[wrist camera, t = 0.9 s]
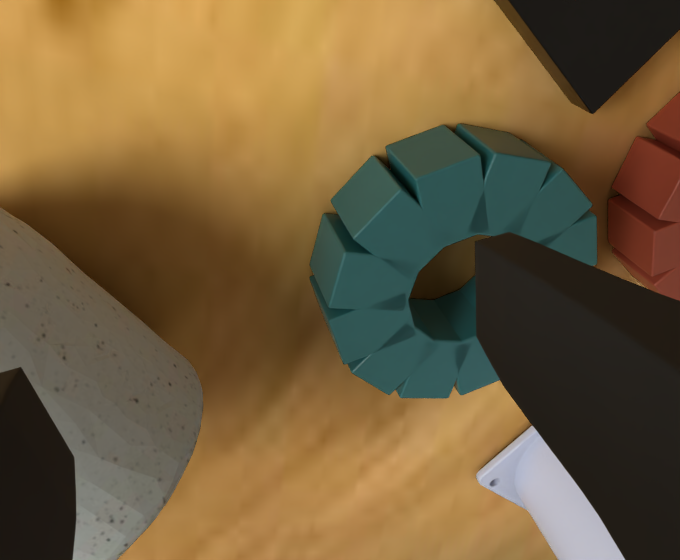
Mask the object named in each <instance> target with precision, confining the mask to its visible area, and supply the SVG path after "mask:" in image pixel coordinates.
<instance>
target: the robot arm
mask: <svg viewBox="0 0 680 560" xmlns="http://www.w3.org/2000/svg"><path fill="white" fill-rule="evenodd" d="M475 282H476V337H477V339H478V341H479V343H480V344H481V346H482V348H483V350H484V352H485V354H486V356H487V358H488V359H489V361H490V363H491V365H492V367H493V368H494V370H495V372H496V374H497V375H498V377H499V379H500V381H501V382H502V384H503V386H504V387H505V389H506V390H507V391H508V393H509V394H510V396H511V397H512V398H513V400H514V401H515V402H516V404H517V405H518V406H519V408H520V409H521V410H522V412H523V413H524V415H525V416H526V417H527V419H528V420H529V421H530V423H531V424H532V426H531V427H530V428H528V429H527V430H526V431H525V432H524V433H522V434H521V435H520V436H519V437H518V438H517V439H515V440H514V441H513V442H512V443H511V444H510V445H508V446H507V447H506V448H505V449H504V450H503V451H501V452H500V453H499V454H498V455H497V456H496V457H494V458H493V459H492V460H491V461H490V462H488V463H487V464H486V465H485V466H484V467H483V468H481V469H480V470H479V471H478V473H477V475H476V478H477V480H478V482H479V483H480V484H481V485H482V486H484V487H486V488H487V489H489V490H491V491H493V492H495V493H497V494H498V495H500V496H502V497H504V498H506V499H507V500H509V501H511V502H513V503H515V504H517V505H518V506H520V507H522V508H524V509H526V510H528V511H529V513H530V515H531V516H532V518H533V520H534V521H535V523H536V524H537V526H538V528H539V529H540V531H541V533H542V534H543V536H544V537H545V539H546V541H547V542H548V544H549V546H550V547H551V549H552V550H553V552H554V554H555V555H556V557H557V559H558V560H680V301H679V300H676V299H673V298H670V297H668V296H665V295H662V294H659V293H657V292H654V291H652V290H649V289H646V288H644V287H641V286H639V285H636V284H634V283H631V282H629V281H626V280H624V279H621V278H619V277H616V276H614V275H612V274H609V273H607V272H604V271H602V270H600V269H597V268H595V267H593V266H590V265H588V264H586V263H583V262H581V261H579V260H576V259H574V258H572V257H569V256H567V255H565V254H563V253H560V252H558V251H556V250H553V249H551V248H549V247H546V246H544V245H542V244H539V243H537V242H534V241H532V240H530V239H527V238H525V237H522V236H519V235H517V234H514V233H511V232H507V233H504V234H500V235H496V236H493V237H489V238H485V239H482V240H478V241H475ZM76 519H77V518H76V480H75V459H74V456H73V454H72V452H71V451H70V449H69V447H68V445H67V444H66V442H65V440H64V439H63V437H62V435H61V434H60V432H59V430H58V429H57V427H56V425H55V423H54V422H53V420H52V418H51V417H50V415H49V413H48V412H47V410H46V408H45V407H44V405H43V403H42V401H41V400H40V398H39V396H38V395H37V393H36V391H35V390H34V388H33V386H32V385H31V383H30V381H29V379H28V378H27V376H26V374H25V373H24V371H23V369H22V368H21V367H19V368H15V369H12V370H8V371H4V372H1V373H0V560H73V551H74V541H75V531H76Z"/></svg>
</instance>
